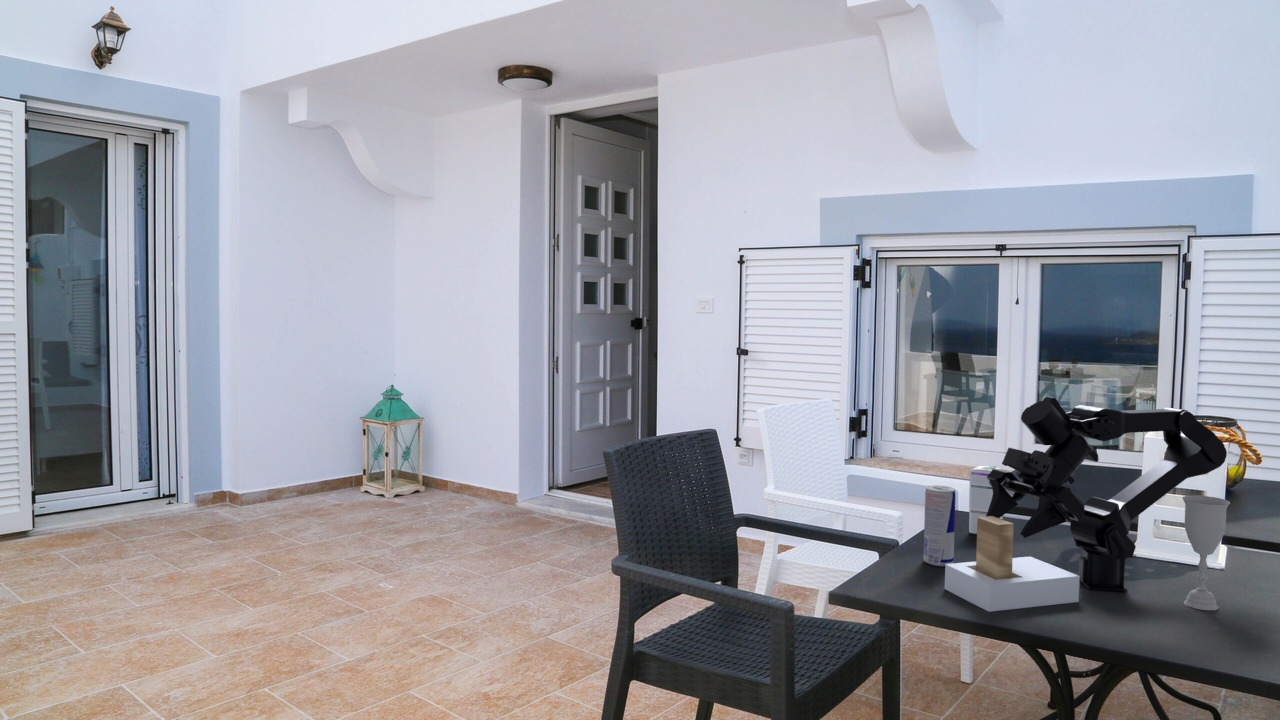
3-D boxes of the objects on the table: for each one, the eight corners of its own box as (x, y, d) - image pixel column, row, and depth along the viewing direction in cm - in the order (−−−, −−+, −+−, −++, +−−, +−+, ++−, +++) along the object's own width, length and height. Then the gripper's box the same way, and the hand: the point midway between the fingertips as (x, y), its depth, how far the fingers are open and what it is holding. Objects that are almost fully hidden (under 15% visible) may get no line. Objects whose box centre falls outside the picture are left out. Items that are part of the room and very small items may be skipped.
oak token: (989, 588, 156) (992, 516, 156) (1011, 598, 151) (1013, 523, 150) (975, 590, 156) (977, 517, 155) (996, 600, 150) (998, 524, 150)
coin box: (1029, 580, 163) (1030, 556, 162) (1078, 601, 151) (1079, 575, 151) (944, 589, 158) (945, 564, 157) (988, 611, 146) (989, 585, 146)
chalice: (1225, 615, 145) (1231, 506, 144) (1177, 607, 149) (1181, 501, 147) (1224, 602, 151) (1229, 498, 150) (1177, 595, 155) (1182, 493, 154)
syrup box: (995, 537, 192) (997, 471, 192) (967, 533, 196) (969, 468, 195) (1003, 532, 197) (1005, 467, 196) (976, 527, 201) (978, 464, 200)
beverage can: (955, 568, 170) (957, 491, 169) (925, 566, 171) (927, 489, 170) (951, 559, 176) (953, 485, 175) (921, 558, 177) (923, 483, 176)
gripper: (997, 424, 162) (943, 487, 160) (1072, 440, 145) (1013, 511, 142) (1031, 465, 165) (979, 527, 163) (1110, 485, 147) (1053, 555, 145)
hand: (1004, 529), depth 153 cm, fingers open, 9 cm apart
